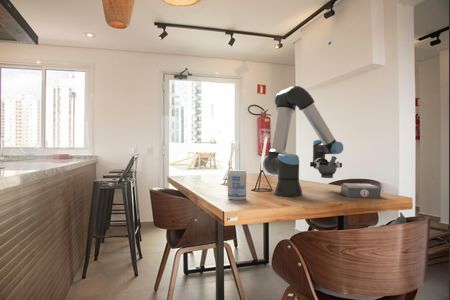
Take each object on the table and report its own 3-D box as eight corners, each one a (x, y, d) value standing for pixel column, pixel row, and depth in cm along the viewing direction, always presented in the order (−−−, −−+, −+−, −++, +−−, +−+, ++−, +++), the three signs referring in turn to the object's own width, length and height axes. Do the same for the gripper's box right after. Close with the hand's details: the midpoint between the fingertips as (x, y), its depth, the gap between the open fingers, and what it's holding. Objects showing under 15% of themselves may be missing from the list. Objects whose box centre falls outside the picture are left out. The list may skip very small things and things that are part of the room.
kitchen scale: (348, 197, 149) (348, 186, 149) (340, 193, 166) (340, 183, 166) (380, 198, 147) (380, 186, 147) (369, 193, 163) (369, 183, 163)
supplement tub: (232, 200, 139) (232, 171, 139) (224, 198, 147) (224, 170, 147) (249, 199, 143) (249, 170, 143) (241, 196, 151) (241, 169, 151)
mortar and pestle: (326, 178, 149) (326, 155, 149) (314, 177, 158) (314, 155, 158) (342, 178, 154) (342, 156, 154) (329, 176, 162) (329, 156, 162)
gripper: (340, 170, 172) (350, 172, 150) (302, 169, 175) (307, 171, 154) (340, 158, 172) (350, 158, 150) (302, 157, 176) (307, 157, 154)
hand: (328, 165), depth 152 cm, fingers closed on mortar and pestle, 10 cm apart
